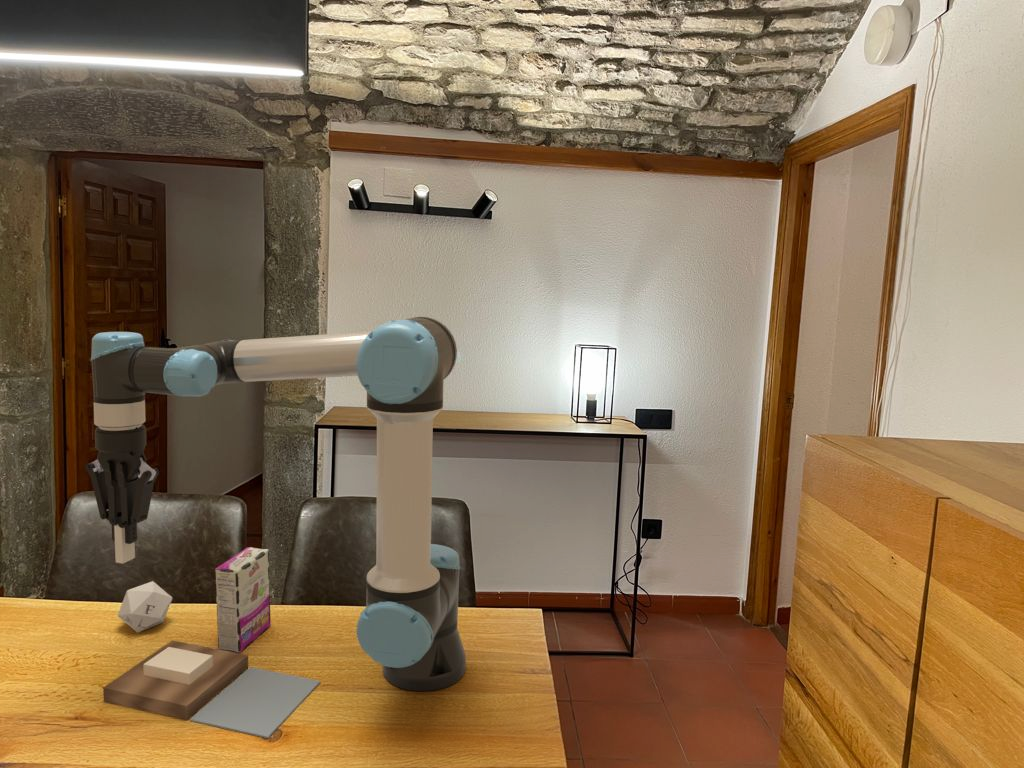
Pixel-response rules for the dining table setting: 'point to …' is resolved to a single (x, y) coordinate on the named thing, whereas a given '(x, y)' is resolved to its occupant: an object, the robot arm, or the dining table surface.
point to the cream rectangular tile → (178, 665)
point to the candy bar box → (242, 599)
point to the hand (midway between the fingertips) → (125, 559)
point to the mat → (256, 702)
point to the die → (144, 606)
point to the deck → (175, 684)
